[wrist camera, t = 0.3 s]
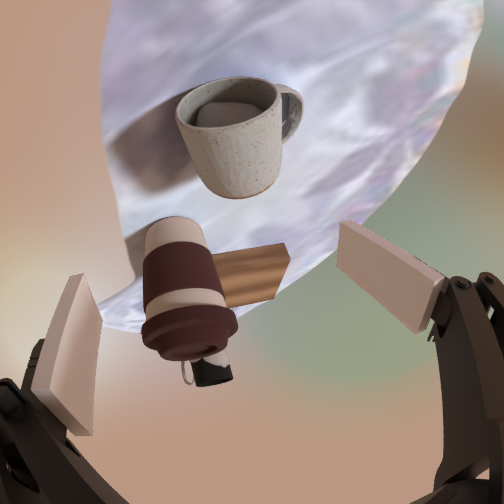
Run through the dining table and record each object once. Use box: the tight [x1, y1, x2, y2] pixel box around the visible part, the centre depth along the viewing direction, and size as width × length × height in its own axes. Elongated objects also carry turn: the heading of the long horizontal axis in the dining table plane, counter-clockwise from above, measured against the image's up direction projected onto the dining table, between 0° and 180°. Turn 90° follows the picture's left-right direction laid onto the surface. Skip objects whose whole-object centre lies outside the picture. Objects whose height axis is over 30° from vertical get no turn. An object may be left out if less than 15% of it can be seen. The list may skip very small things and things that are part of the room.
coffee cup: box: [141, 216, 238, 361], centre depth 29 cm, size 10×10×15 cm
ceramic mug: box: [175, 77, 304, 199], centre depth 20 cm, size 11×8×8 cm
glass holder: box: [181, 348, 233, 387], centre depth 54 cm, size 9×14×15 cm, turn 134°
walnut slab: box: [212, 243, 290, 308], centre depth 45 cm, size 14×14×3 cm
